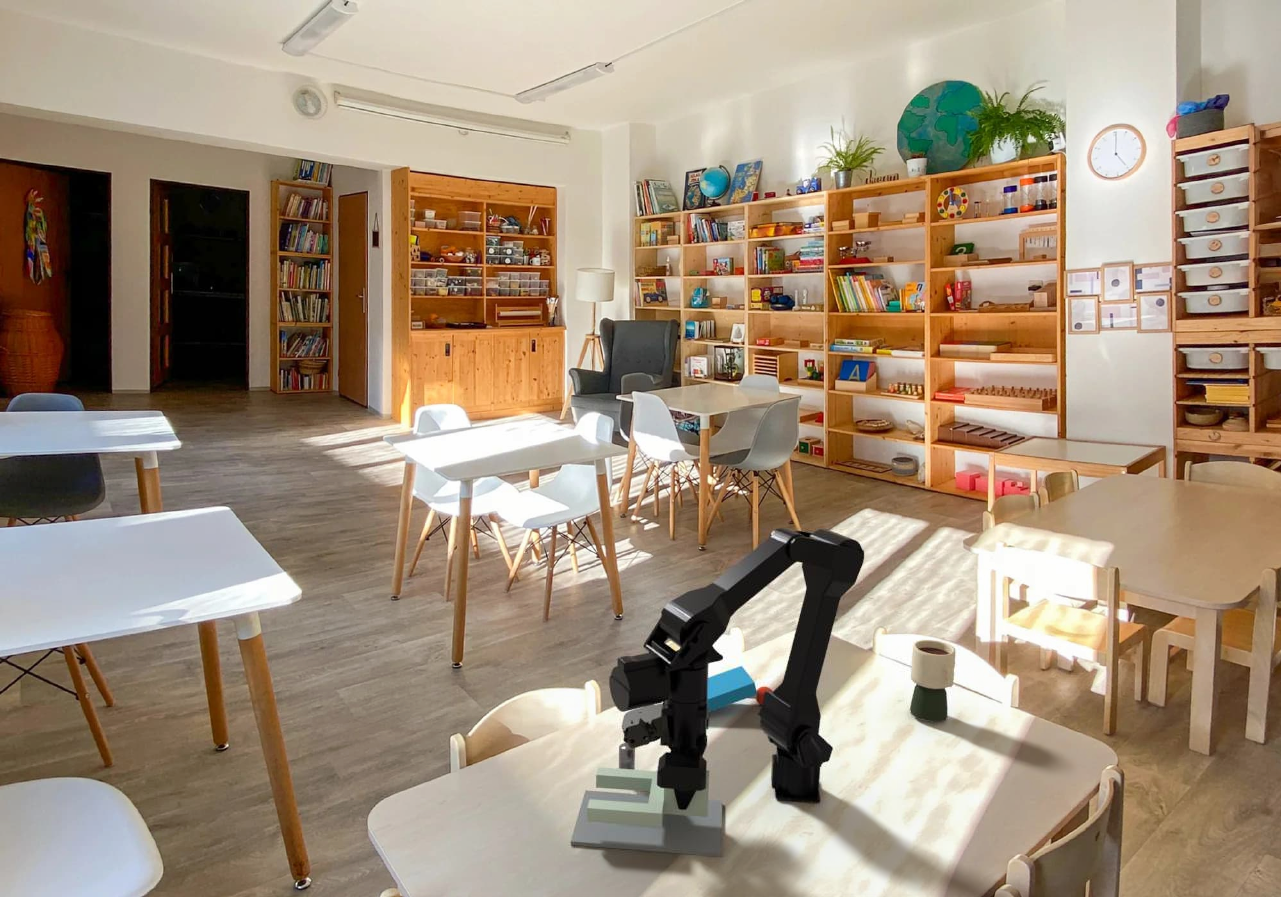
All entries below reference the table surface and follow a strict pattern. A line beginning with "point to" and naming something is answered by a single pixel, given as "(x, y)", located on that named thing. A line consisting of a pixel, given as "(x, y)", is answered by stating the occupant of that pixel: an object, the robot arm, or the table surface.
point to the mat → (652, 829)
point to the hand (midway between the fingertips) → (683, 799)
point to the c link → (641, 812)
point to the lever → (732, 688)
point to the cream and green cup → (931, 678)
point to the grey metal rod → (626, 757)
